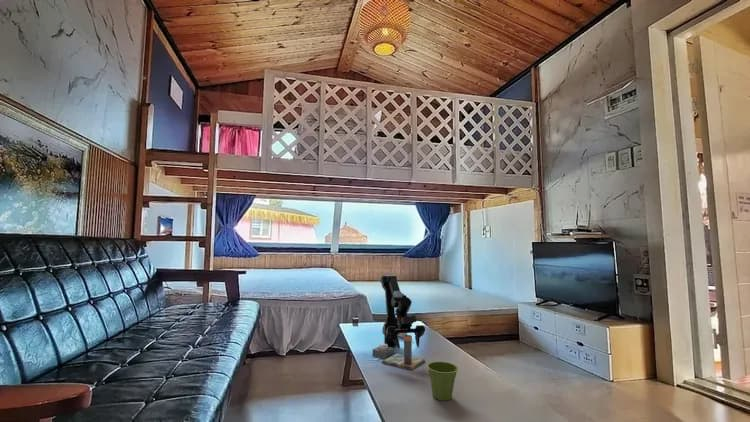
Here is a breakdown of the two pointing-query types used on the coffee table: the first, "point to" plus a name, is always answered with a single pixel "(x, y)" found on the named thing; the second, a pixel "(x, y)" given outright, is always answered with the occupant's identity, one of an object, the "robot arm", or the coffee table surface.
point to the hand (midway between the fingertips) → (408, 347)
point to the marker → (407, 349)
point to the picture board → (399, 361)
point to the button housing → (383, 352)
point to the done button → (383, 347)
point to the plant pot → (442, 379)
